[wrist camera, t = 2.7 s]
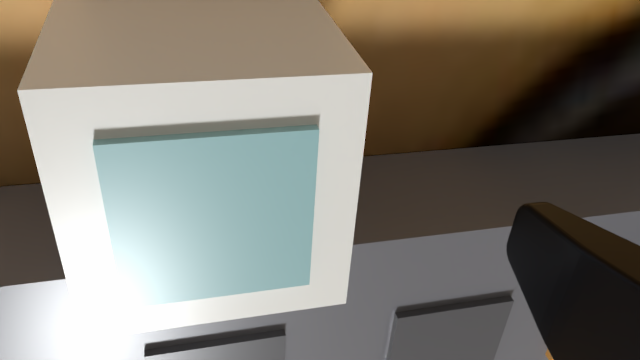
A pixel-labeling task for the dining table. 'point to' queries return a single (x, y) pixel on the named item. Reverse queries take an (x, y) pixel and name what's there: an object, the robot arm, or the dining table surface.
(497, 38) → the dining table surface
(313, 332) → the power strip
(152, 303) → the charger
